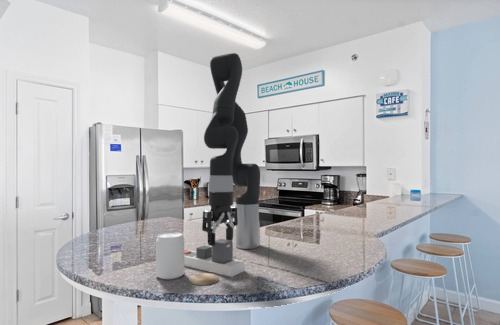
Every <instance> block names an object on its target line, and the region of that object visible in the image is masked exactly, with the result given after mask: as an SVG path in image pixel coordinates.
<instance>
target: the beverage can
mask: <svg viewBox="0 0 500 325" xmlns="http://www.w3.org/2000/svg"><path fill="white" fill-rule="evenodd" d="M155 247H156V248H155V276H156V277H157V278H160V279H162V280H175V279H178V278H180V277H183V275H184V274H185V266H184V250H185V237H184V236H183V233H182V232H164V233H160V234H158V235H157V238H156V240H155Z"/></svg>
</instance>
